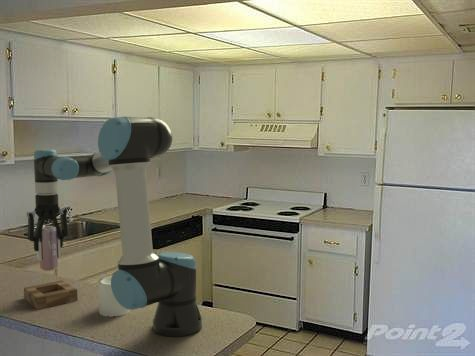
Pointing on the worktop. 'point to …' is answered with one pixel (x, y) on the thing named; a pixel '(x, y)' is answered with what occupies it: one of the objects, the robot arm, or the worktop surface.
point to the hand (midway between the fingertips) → (48, 258)
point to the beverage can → (49, 248)
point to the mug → (109, 300)
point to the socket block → (50, 294)
